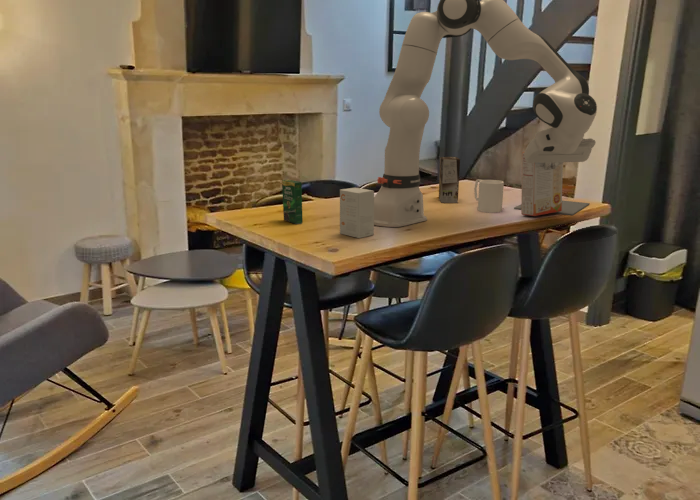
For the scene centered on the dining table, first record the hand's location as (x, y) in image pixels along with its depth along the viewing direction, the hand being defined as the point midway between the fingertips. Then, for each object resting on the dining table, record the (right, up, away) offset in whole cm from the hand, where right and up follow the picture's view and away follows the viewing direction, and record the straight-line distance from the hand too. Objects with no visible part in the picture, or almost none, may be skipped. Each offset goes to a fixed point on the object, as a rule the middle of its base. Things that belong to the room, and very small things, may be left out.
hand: (549, 167), depth 199 cm
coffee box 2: (-28, -8, +32) cm, 43 cm away
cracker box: (-1, -15, +7) cm, 16 cm away
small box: (-63, -22, -21) cm, 70 cm away
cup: (-17, -13, +16) cm, 27 cm away
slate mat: (+8, -11, +21) cm, 25 cm away
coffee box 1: (-83, -18, -4) cm, 85 cm away
